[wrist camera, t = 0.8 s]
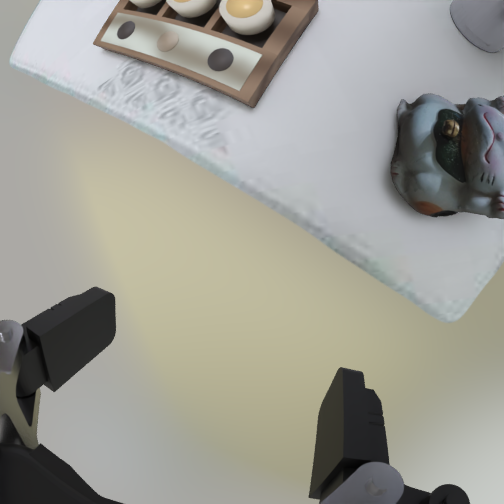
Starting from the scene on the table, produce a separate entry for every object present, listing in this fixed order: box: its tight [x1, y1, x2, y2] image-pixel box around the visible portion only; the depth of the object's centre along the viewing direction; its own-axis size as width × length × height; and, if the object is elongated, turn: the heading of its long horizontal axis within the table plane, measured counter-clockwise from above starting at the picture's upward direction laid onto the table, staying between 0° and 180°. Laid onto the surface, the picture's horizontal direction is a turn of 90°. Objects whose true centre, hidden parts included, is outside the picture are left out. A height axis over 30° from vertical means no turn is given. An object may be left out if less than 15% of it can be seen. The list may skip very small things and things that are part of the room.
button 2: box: [219, 0, 275, 35], centre depth 24 cm, size 6×6×3 cm
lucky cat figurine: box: [391, 94, 504, 219], centre depth 22 cm, size 15×12×14 cm
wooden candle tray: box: [93, 0, 318, 108], centre depth 28 cm, size 16×27×3 cm, turn 60°
